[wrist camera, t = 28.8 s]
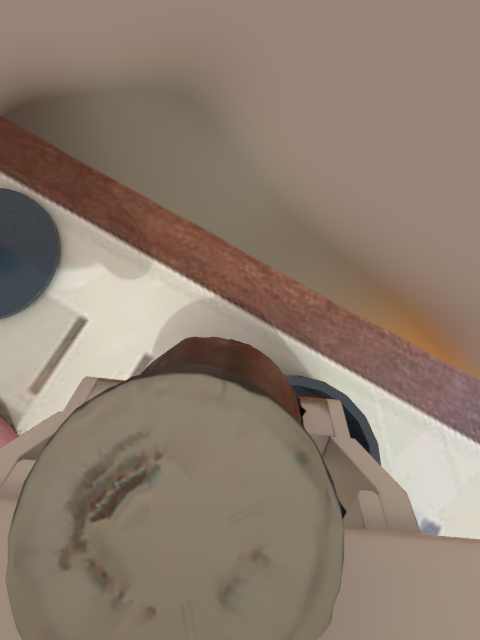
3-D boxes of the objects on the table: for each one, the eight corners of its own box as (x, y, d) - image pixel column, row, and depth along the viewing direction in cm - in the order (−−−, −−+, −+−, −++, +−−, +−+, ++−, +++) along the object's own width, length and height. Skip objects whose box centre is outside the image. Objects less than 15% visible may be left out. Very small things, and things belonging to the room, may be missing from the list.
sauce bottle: (166, 362, 24) (-147, 298, 4) (251, 340, 24) (333, 187, 5) (187, 456, 23) (-96, 960, 3) (276, 432, 23) (518, 745, 4)
